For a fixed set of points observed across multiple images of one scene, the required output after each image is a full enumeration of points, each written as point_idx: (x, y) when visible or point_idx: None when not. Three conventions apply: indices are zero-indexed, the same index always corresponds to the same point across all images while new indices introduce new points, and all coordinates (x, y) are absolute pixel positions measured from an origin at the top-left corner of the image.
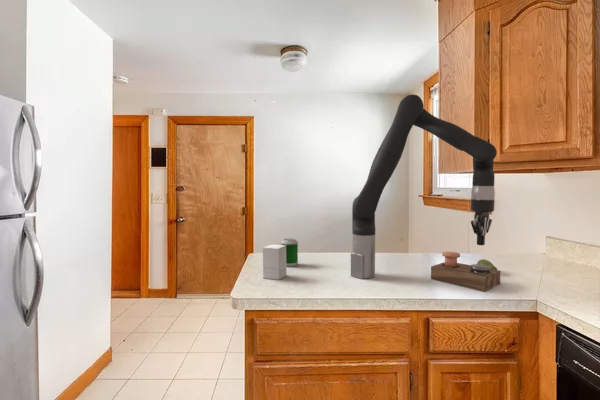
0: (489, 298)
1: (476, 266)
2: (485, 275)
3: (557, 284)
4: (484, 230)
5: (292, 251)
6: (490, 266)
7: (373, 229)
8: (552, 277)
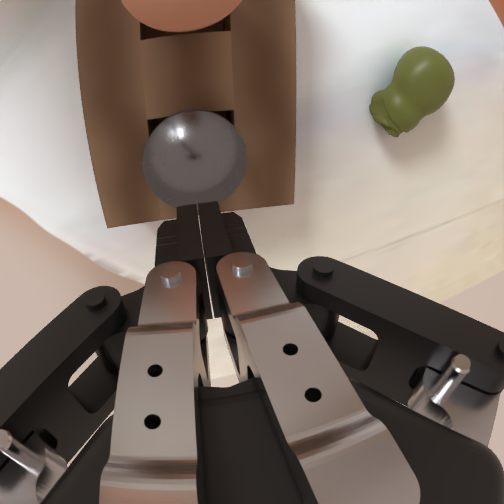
0: (74, 244)
1: (177, 150)
2: (143, 208)
3: (391, 275)
4: (233, 363)
5: None
6: (401, 112)
7: None
8: (449, 242)
